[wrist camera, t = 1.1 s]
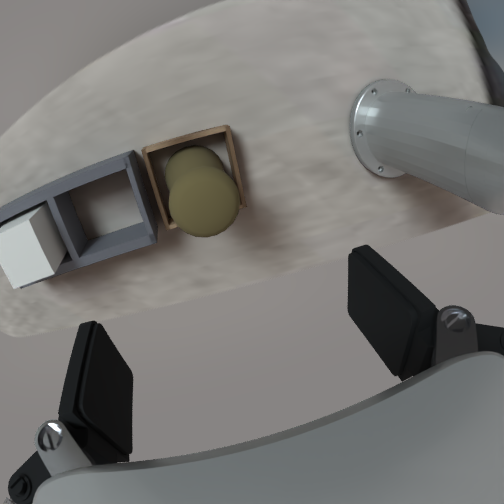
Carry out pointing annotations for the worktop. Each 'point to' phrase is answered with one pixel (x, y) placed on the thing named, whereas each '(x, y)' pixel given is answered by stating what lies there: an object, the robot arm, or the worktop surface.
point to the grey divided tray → (70, 226)
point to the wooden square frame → (225, 129)
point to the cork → (200, 192)
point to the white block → (31, 245)
